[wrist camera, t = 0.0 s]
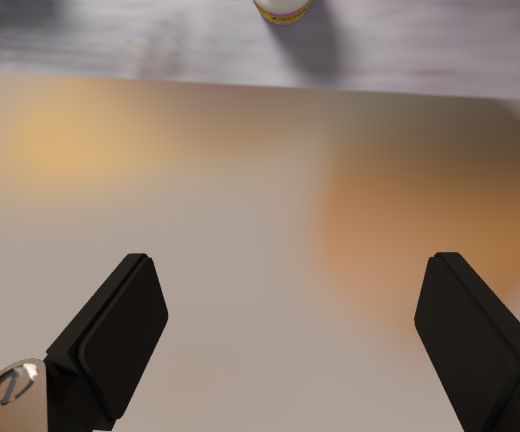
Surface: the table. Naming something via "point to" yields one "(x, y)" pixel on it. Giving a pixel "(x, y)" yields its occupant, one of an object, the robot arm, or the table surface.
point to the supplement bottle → (282, 10)
